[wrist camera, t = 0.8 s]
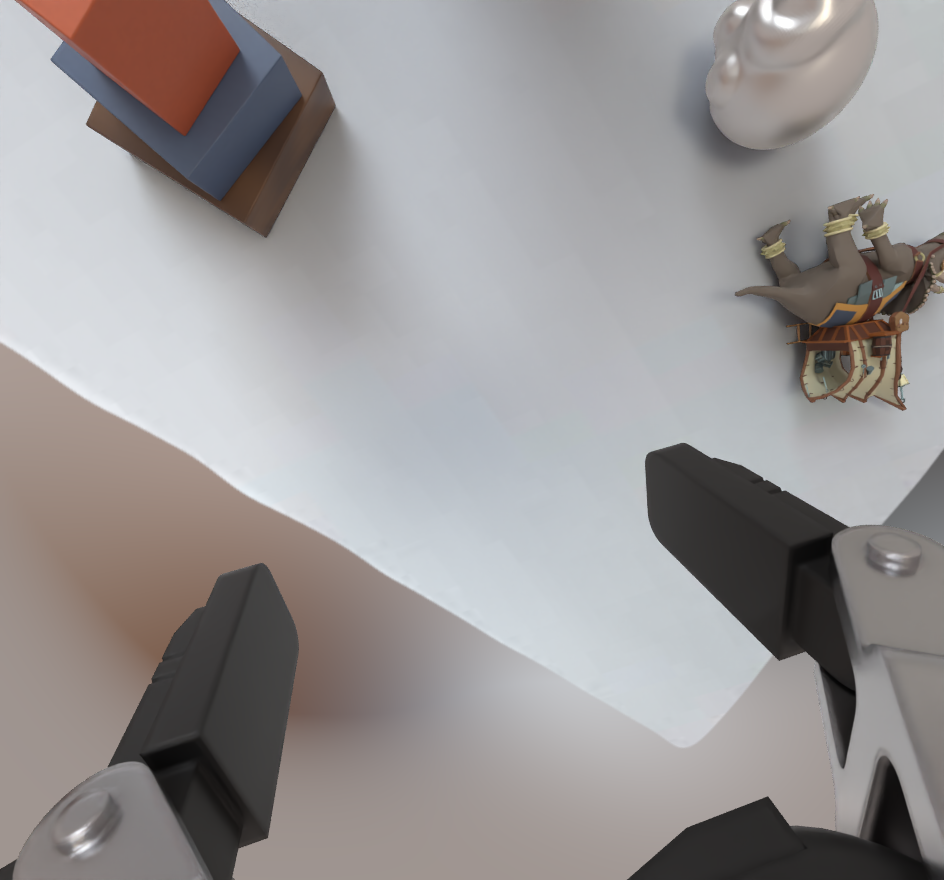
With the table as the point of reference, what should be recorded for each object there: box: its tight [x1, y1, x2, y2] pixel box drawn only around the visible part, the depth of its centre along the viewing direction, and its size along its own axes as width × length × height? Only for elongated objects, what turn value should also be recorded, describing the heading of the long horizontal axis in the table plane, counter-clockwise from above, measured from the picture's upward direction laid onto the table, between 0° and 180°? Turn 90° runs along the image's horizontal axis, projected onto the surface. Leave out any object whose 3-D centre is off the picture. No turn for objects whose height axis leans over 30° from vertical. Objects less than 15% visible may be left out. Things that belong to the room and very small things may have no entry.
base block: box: [86, 13, 335, 237], centre depth 30 cm, size 10×10×4 cm
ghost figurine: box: [705, 0, 878, 150], centre depth 29 cm, size 9×10×10 cm
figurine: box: [735, 194, 944, 411], centre depth 35 cm, size 20×6×17 cm
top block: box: [15, 0, 240, 136], centre depth 20 cm, size 5×5×8 cm
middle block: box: [51, 0, 302, 201], centre depth 26 cm, size 8×8×4 cm
